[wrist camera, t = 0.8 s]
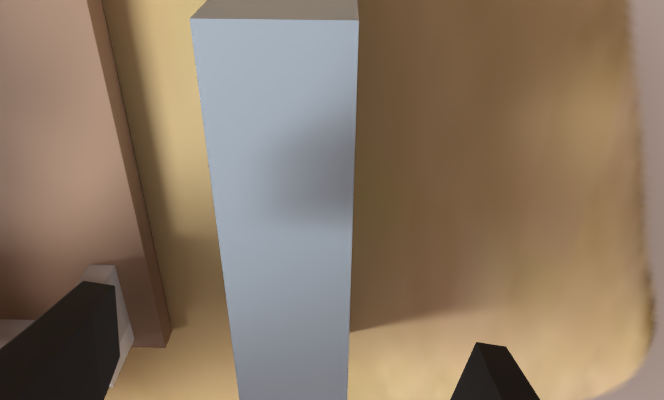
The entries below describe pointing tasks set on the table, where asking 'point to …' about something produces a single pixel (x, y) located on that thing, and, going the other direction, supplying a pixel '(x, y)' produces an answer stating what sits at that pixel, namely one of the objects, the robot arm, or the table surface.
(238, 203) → the slat
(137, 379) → the table surface
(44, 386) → the robot arm
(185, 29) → the table surface
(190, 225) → the table surface
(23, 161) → the frame
